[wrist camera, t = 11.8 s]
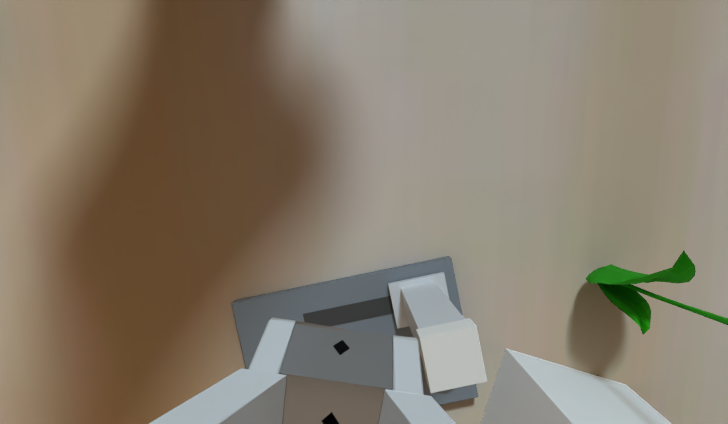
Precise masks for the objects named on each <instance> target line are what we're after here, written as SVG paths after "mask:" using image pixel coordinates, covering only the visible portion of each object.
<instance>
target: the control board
mask: <svg viewBox="0 0 728 424" xmlns="http://www.w3.org/2000/svg"><path fill="white" fill-rule="evenodd" d="M440 272H444V274H445V280H446V285H447V290H448V295H449V300H450V301H451V302H452V304H453V305H454V306H455V307H456V309H457V310H458V311H459V312H460V314H461V315H462V311H461V305H460V300H459V295H458V290H457V285H456V280H455V274H454V269H453V264H452V259H451V258H450V257H449V256H447V257H443V258H438V259H433V260H428V261H423V262H418V263H414V264H409V265H404V266H399V267H394V268H389V269H385V270H380V271H375V272H370V273H365V274H360V275H355V276H351V277H346V278H341V279H336V280H331V281H326V282H322V283H317V284H312V285H307V286H302V287H297V288H293V289H288V290H283V291H278V292H273V293H268V294H264V295H259V296H254V297H249V298H244V299H239V300H235V301H234V302H233V303H232V308H233V312H234V317H235V321H236V326H237V330H238V334H239V339H240V343H241V348H242V352H243V356H244V361H245V365H246V369H249V366H250V364H251V362H252V359H253V357H254V354H255V352H256V350H257V347H258V345H259V343H260V340H261V338H262V335H263V333H264V331H265V328H266V326H267V324H268V321H269V320H270V319H271V318H272V317H273V318H280V319H287V320H294V321H296V322H297V321H300V322H306V323H312V324H318V325H324V326H330V327H336V328H342V329H345V330H352V331H360V332H367V333H375V334H382V335H390V336H392V335H395V336H404V337H413V334H412V332H411V329H410V326H408V327H403V328H398V329H397V325H396V320H395V315H394V310H393V306H392V301H391V296H390V291H389V286H388V283H392V282H397V281H401V280H406V279H411V278H416V277H421V276H426V275H430V274H435V273H440ZM413 338H414V337H413ZM420 362H421V372H422V382H423V392H424V395H428V396H432V397H433V399H434V400H435V401H436V402H437V403H438V404H439V405H442V404H447V403H452V402H456V401H461V400H466V399H471V398H475V397H478V393H477V388H476V384H473V385H468V386H463V387H458V388H454V389H449V390H444V391H439V392H434V393H431V392H430V390H429V387H428V384H427V381H426V376H425V371H424V366H423V361H422V358H421V355H420Z"/></svg>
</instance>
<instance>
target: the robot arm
mask: <svg viewBox="0 0 728 424" xmlns="http://www.w3.org/2000/svg"><path fill="white" fill-rule="evenodd" d="M149 424H456V423H455V422H454V421H453V420H452V419H451V417H450V416H449V415H448V414H447V413H446V412H445V411H444V410H443V409H442V407H441V406H440V405H439V404H438V403H437V402H436V401H435V400H434V399H433V397H432V396H428V395H424V392H423V382H422V372H421V362H420V352H419V342H418V340H417V338H413V337H404V336H395V335H392V336H390V335H382V334H375V333H367V332H360V331H352V330H345V329H342V328H336V327H330V326H324V325H318V324H312V323H306V322H300V321H297V322H296V321H294V320H287V319H280V318H273V317H272V318H271V319H270V320H269V321H268V324H267V326H266V328H265V331H264V333H263V335H262V338H261V340H260V343H259V345H258V347H257V350H256V352H255V354H254V357H253V359H252V362H251V364H250V366H249V369H239V370H237V371H236V372H234V373H232V374H231V375H229V376H227V377H226V378H224V379H222V380H221V381H219V382H217V383H216V384H214V385H212V386H211V387H209V388H207V389H206V390H204V391H202V392H201V393H199V394H197V395H196V396H194V397H192V398H191V399H189V400H187V401H186V402H184V403H182V404H181V405H179V406H177V407H176V408H174V409H172V410H171V411H169V412H167V413H166V414H164V415H162V416H161V417H159V418H157V419H156V420H154V421H152V422H151V423H149Z"/></svg>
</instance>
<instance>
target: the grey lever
mask: <svg viewBox="0 0 728 424" xmlns="http://www.w3.org/2000/svg"><path fill="white" fill-rule="evenodd" d="M388 286H389V291H390V296H391V301H392V306H393V310H394V315H395V320H396V325H397V329H398V328H403V327H408V326H410V329H411V332H412V334H413V337H414V338H417V340H418V342H419V352H420V355H421V358H422V361H423V366H424V371H425V376H426V381H427V384H428V387H429V390H430V392H431V393H434V392H439V391H444V390H449V389H454V388H458V387H463V386H468V385H473V384H478V383H482V382H487V378H486V372H485V367H484V362H483V357H482V352H481V346H480V341H479V336H478V331H477V326H476V325H475V324H474V322H473V321H472V320H471V319H470V318H468V319H465V318H464V317H463V316H462V315H461V314H460V312H459V311H458V310H457V309H456V307H455V306H454V305H453V304H452V302H451V301H450V300H449V295H448V290H447V285H446V280H445V274H444V272H440V273H435V274H430V275H426V276H421V277H416V278H411V279H406V280H401V281H397V282H392V283H388Z"/></svg>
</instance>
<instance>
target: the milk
mask: <svg viewBox="0 0 728 424" xmlns="http://www.w3.org/2000/svg"><path fill="white" fill-rule="evenodd" d="M481 424H671V423H670V422H669V421H668V420H667V419H666V418H664V417H663V416H662V415H661V414H660V413H659V412H657V411H656V410H655V409H654V408H653V407H652V406H650V405H649V404H648V403H647V402H646V401H645V400H643V399H642V398H641V397H640V396H639V395H638V394H636V393H635V392H634V391H633V390H632V389H631V388H629V387H628V386H627V385H626V384H623V383H619V382H616V381H613V380H609V379H606V378H603V377H599V376H596V375H593V374H589V373H586V372H583V371H580V370H576V369H573V368H570V367H566V366H563V365H560V364H556V363H553V362H550V361H546V360H543V359H540V358H536V357H533V356H530V355H526V354H523V353H520V352H517V351H513V350H510V349H507V348H506V349H505V352H504V355H503V358H502V361H501V364H500V367H499V370H498V373H497V376H496V379H495V382H494V385H493V388H492V391H491V394H490V397H489V400H488V403H487V406H486V409H485V412H484V415H483V418H482V421H481Z"/></svg>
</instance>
